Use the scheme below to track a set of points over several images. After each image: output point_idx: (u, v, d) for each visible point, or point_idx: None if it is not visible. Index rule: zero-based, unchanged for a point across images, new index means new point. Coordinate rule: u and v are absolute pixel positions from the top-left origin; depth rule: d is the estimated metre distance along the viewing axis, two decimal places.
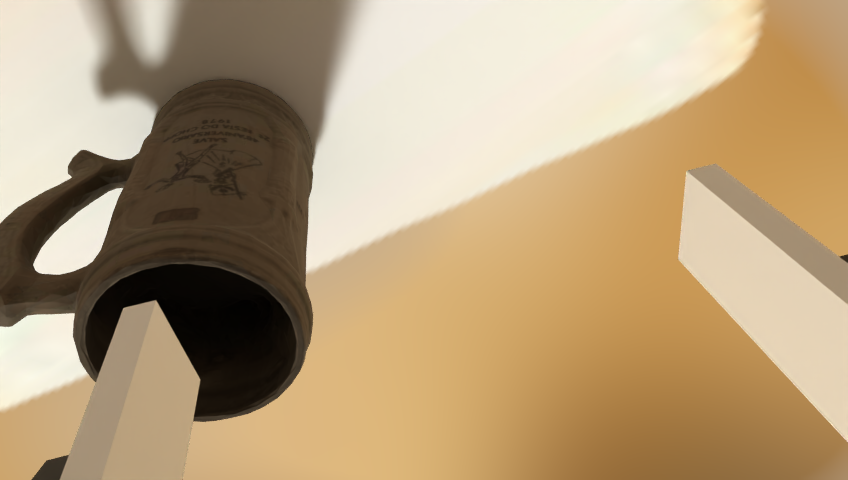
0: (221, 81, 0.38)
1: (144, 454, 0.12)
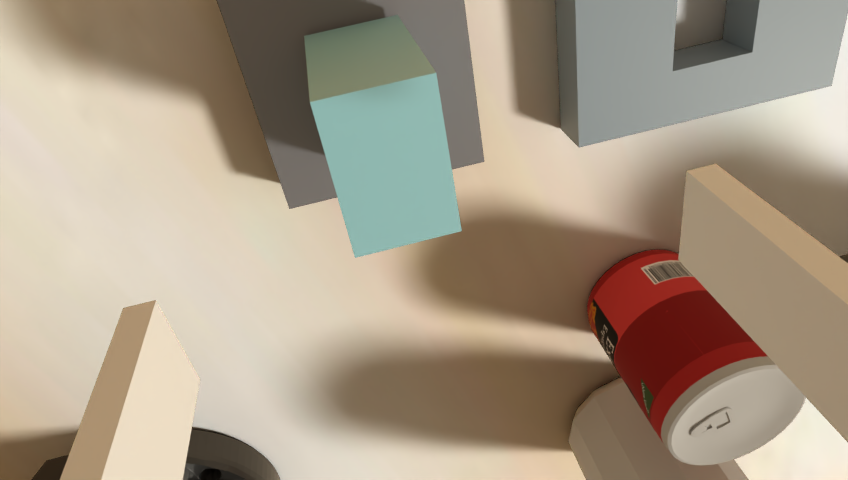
0: None
1: (144, 454, 0.12)
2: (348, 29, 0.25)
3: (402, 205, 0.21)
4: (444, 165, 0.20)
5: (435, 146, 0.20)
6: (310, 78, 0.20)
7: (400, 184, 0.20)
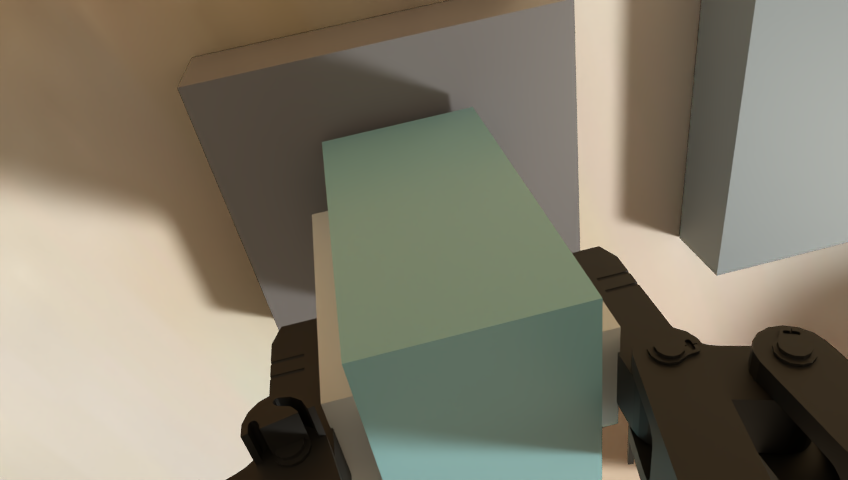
0: None
1: None
2: (394, 134, 0.15)
3: None
4: (590, 435, 0.11)
5: (579, 410, 0.10)
6: (338, 272, 0.11)
7: (506, 468, 0.11)
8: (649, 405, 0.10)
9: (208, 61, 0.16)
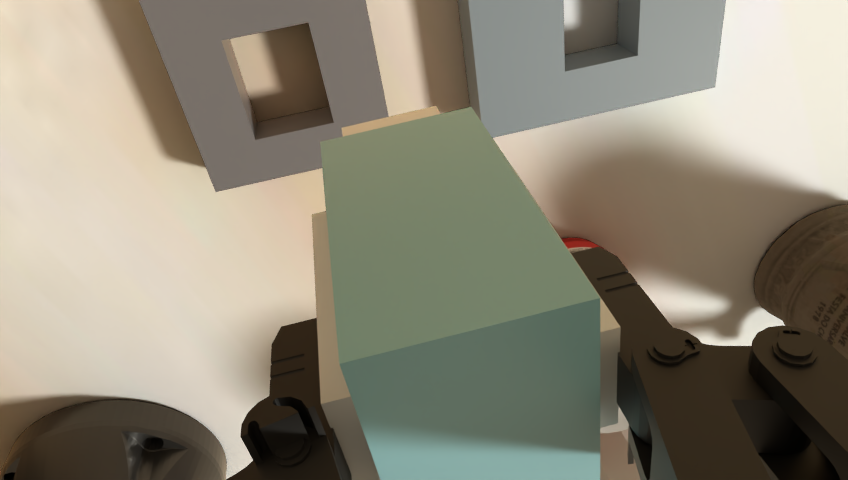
0: (761, 270, 0.47)
1: None
2: (393, 134, 0.15)
3: None
4: (588, 435, 0.11)
5: (577, 410, 0.10)
6: (336, 272, 0.11)
7: (504, 467, 0.11)
8: (649, 405, 0.10)
9: None
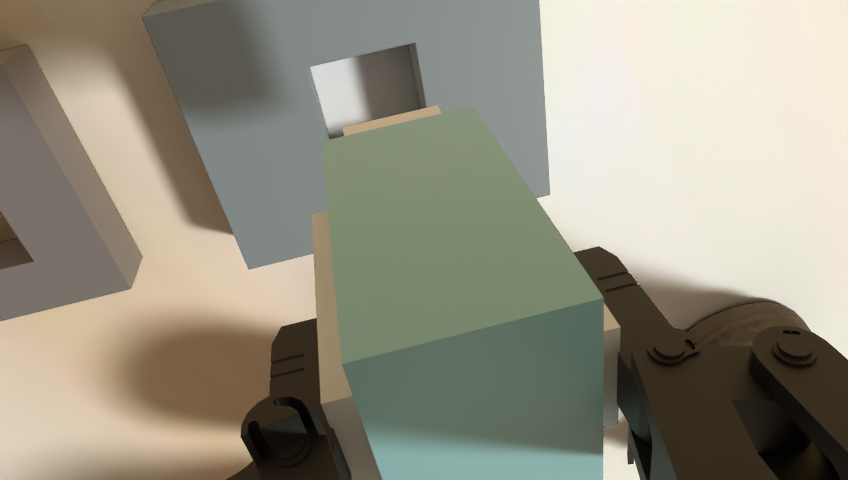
0: None
1: None
2: (394, 133, 0.15)
3: None
4: (591, 435, 0.11)
5: (581, 410, 0.10)
6: (338, 272, 0.11)
7: (507, 468, 0.11)
8: (649, 405, 0.10)
9: None
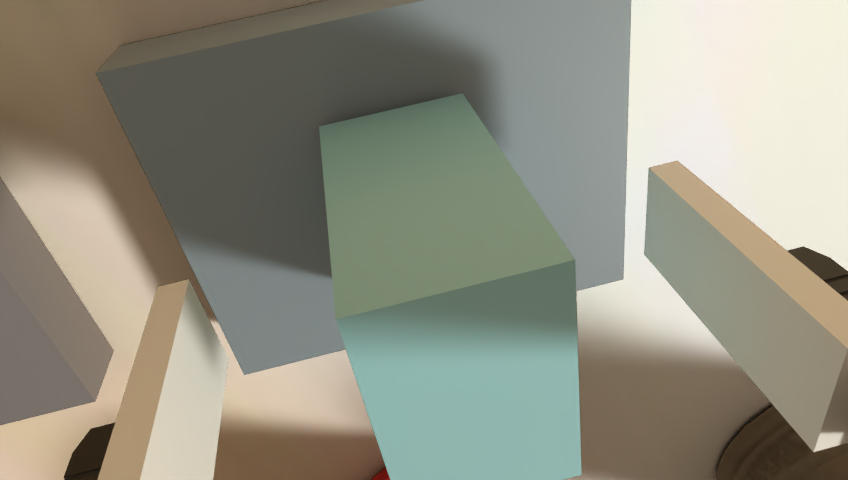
0: (725, 464, 0.33)
1: (184, 423, 0.12)
2: (388, 118, 0.16)
3: (489, 450, 0.12)
4: (568, 393, 0.12)
5: (557, 368, 0.11)
6: (333, 241, 0.11)
7: (490, 423, 0.12)
8: None
9: None
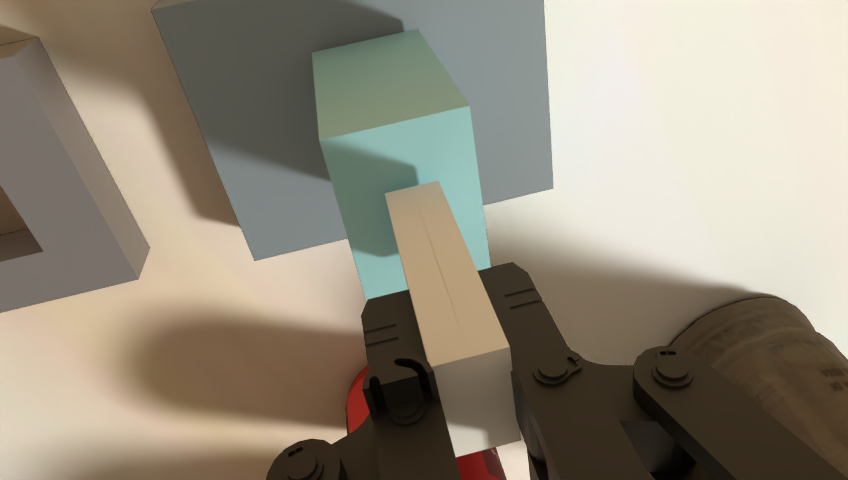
0: None
1: None
2: (362, 45, 0.22)
3: None
4: (475, 210, 0.17)
5: (466, 189, 0.17)
6: (319, 108, 0.17)
7: None
8: (539, 430, 0.09)
9: None
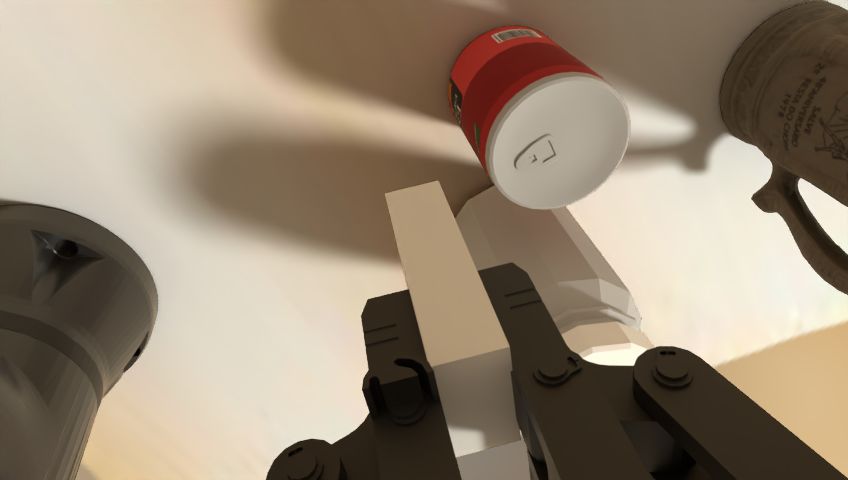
0: (727, 81, 0.43)
1: None
2: None
3: None
4: None
5: None
6: None
7: None
8: (540, 430, 0.09)
9: None
